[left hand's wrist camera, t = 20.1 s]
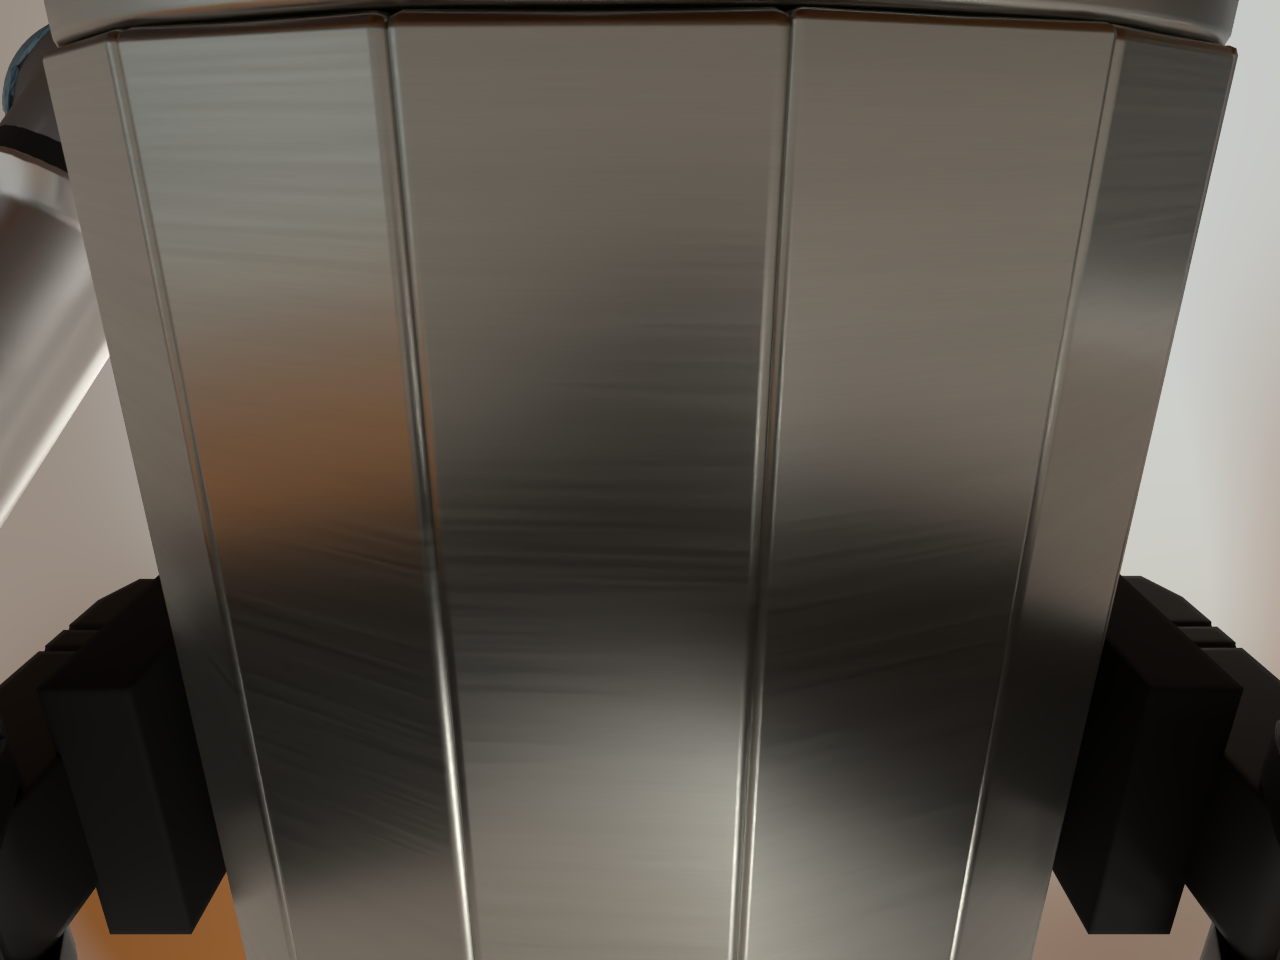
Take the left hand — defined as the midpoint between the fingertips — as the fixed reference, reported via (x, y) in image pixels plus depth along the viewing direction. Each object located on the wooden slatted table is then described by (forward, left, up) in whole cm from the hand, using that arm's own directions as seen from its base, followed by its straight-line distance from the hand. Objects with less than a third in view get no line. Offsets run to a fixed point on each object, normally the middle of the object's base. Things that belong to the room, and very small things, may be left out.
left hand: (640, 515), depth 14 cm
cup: (+4, -2, -7) cm, 8 cm away
